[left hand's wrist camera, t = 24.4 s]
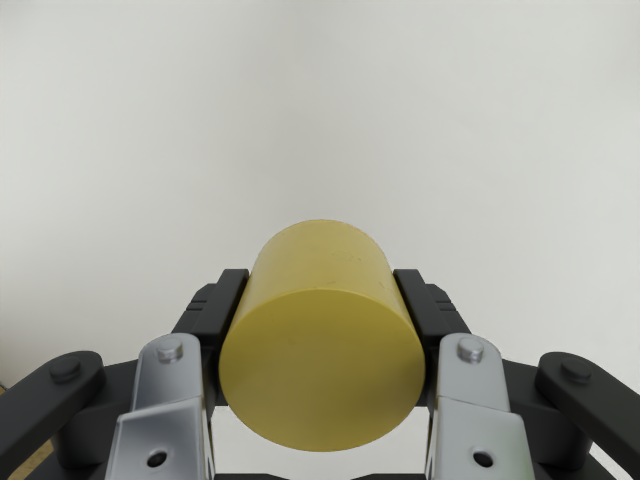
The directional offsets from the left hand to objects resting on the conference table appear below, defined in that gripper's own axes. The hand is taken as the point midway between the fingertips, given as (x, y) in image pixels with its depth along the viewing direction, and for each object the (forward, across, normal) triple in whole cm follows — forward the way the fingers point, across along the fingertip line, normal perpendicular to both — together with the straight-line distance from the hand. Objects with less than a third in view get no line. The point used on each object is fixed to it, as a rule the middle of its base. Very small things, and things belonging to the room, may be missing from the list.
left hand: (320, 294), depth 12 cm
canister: (+1, 0, 0) cm, 1 cm away
